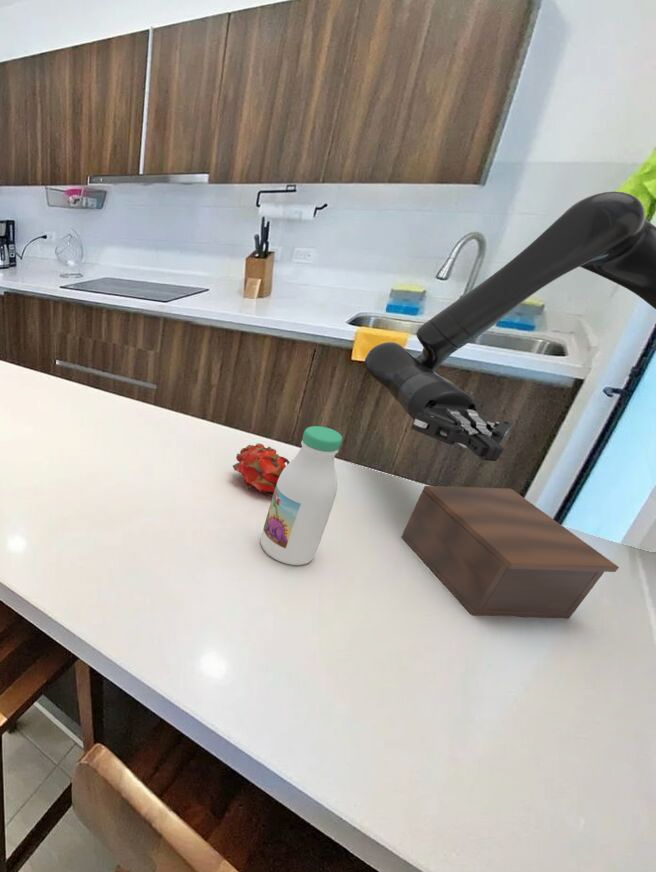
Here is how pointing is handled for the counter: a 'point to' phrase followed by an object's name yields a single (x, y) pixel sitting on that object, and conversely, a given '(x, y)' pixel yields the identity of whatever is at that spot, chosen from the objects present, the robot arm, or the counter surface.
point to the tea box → (490, 570)
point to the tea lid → (517, 530)
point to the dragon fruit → (260, 467)
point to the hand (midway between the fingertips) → (493, 454)
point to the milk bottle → (303, 499)
